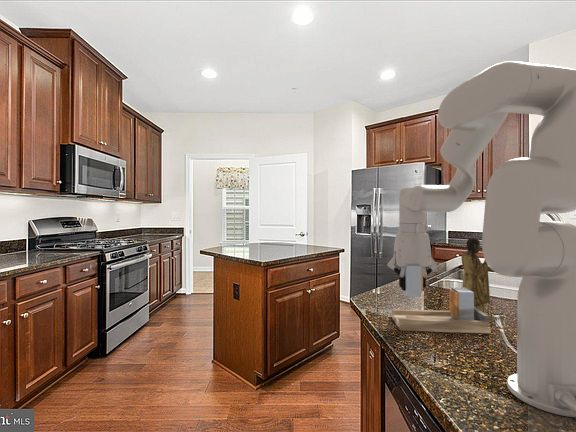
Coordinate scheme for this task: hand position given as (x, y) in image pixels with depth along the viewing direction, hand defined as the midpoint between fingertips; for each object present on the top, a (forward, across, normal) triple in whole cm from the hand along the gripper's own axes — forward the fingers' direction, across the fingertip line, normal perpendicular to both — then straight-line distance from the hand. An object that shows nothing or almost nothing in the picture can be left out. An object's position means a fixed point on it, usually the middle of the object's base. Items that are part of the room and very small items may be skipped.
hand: (412, 289), depth 96 cm
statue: (+11, -24, -13) cm, 29 cm away
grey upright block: (+2, 0, 0) cm, 2 cm away
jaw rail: (+10, -7, 0) cm, 12 cm away
